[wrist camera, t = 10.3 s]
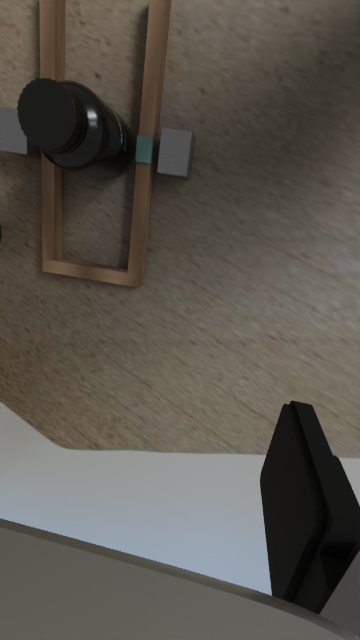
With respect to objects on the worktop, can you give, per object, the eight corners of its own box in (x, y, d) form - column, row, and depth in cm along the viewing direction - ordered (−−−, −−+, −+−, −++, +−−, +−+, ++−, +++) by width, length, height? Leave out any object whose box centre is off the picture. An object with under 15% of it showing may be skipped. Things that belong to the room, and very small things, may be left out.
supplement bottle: (147, 138, 34) (108, 105, 23) (112, 192, 37) (61, 186, 25) (95, 94, 34) (29, 37, 22) (63, 152, 36) (-11, 127, 25)
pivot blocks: (195, 137, 34) (192, 131, 31) (189, 178, 35) (186, 176, 32) (16, 114, 35) (-2, 106, 33) (17, 155, 37) (0, 150, 34)
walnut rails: (171, 0, 30) (167, -15, 28) (143, 284, 40) (138, 288, 37) (50, -11, 31) (36, -27, 29) (50, 268, 41) (40, 271, 39)
